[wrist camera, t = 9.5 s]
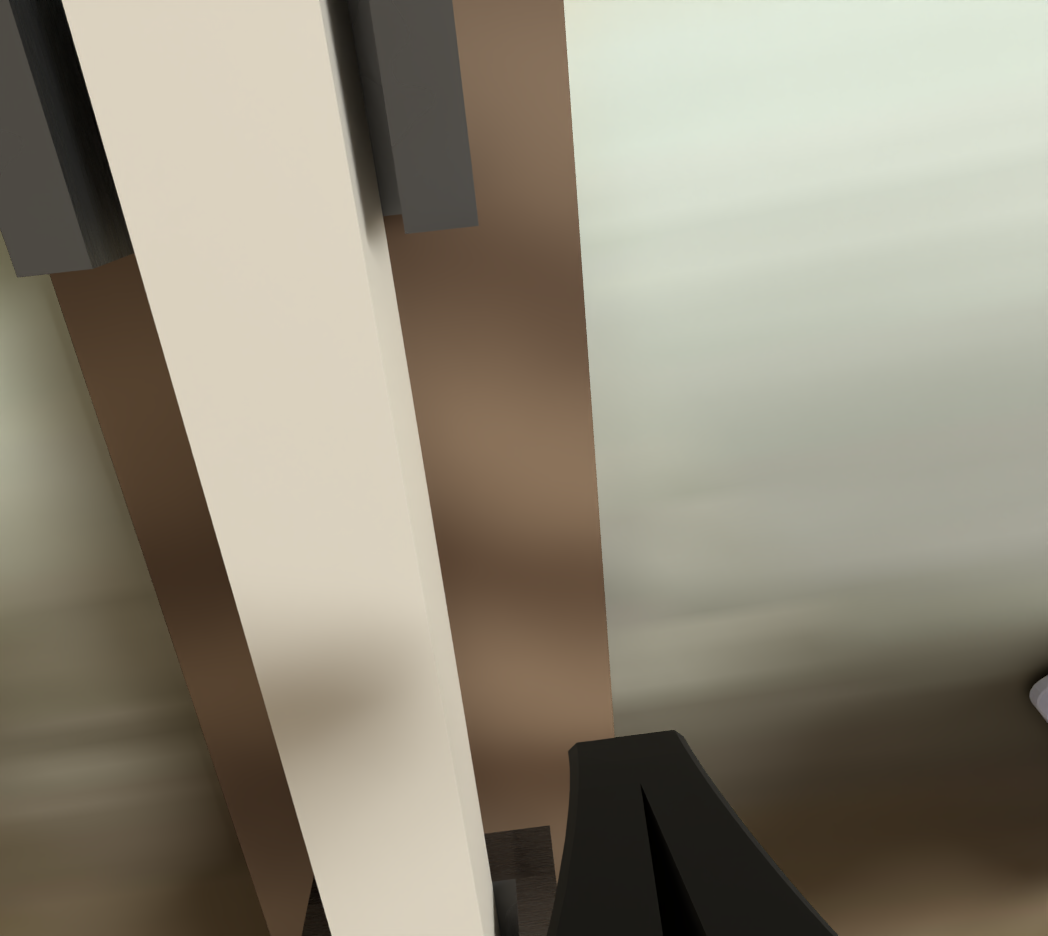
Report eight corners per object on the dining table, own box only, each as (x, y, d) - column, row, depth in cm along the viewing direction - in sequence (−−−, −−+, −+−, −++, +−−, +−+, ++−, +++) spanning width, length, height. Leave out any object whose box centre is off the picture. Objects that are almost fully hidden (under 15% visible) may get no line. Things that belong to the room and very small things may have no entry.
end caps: (567, 973, 24) (588, 1152, 19) (359, 1000, 24) (336, 1186, 19) (428, -202, 12) (408, -366, 8) (31, -162, 12) (-188, -307, 8)
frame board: (625, 944, 25) (631, 976, 24) (305, 986, 25) (298, 1019, 24) (540, -227, 13) (545, -254, 12) (-66, -167, 13) (-106, -190, 12)
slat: (509, 985, 21) (515, 1112, 19) (397, 1000, 21) (387, 1129, 19) (337, -64, 12) (296, -123, 9) (135, -43, 12) (34, -94, 9)
